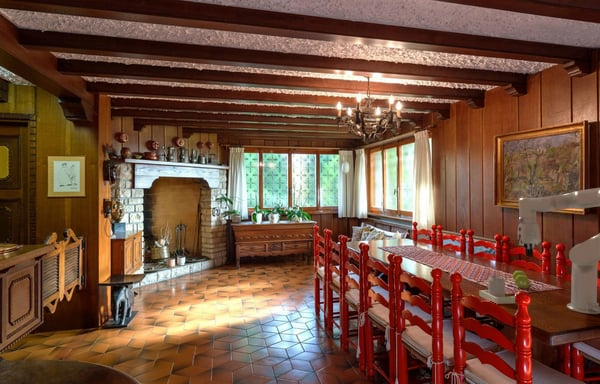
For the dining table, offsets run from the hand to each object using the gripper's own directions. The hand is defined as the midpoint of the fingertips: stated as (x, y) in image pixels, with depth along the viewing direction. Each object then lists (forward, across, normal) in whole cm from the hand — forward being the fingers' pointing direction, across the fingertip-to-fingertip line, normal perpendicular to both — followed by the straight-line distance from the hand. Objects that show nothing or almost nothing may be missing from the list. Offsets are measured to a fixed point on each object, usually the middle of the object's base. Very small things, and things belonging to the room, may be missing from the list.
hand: (529, 256), depth 185 cm
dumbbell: (+22, +15, +26) cm, 37 cm away
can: (+22, -18, +2) cm, 29 cm away
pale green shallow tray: (+22, -18, +2) cm, 28 cm away
